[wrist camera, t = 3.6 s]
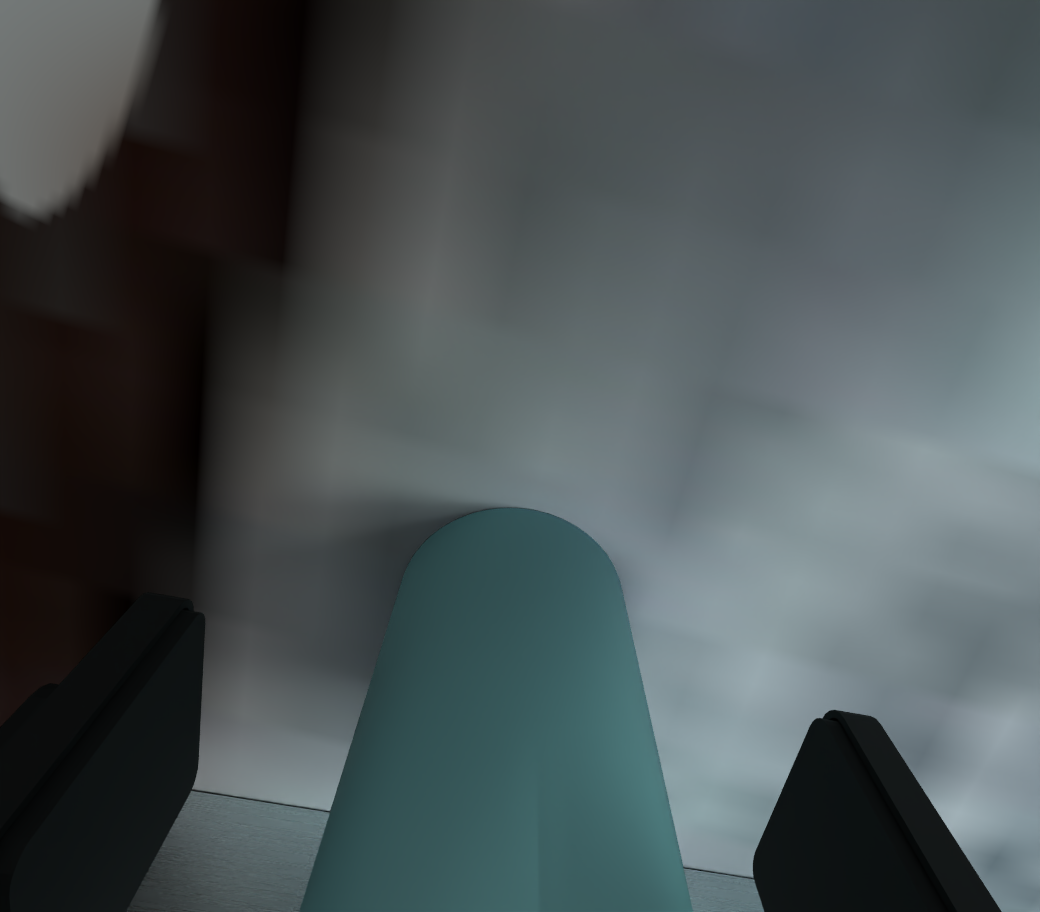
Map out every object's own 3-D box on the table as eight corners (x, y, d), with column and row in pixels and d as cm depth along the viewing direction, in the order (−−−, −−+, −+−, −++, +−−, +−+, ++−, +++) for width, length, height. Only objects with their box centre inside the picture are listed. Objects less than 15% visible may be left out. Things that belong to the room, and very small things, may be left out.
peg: (415, 488, 12) (36, 1562, 3) (648, 531, 12) (1020, 1654, 3) (385, 680, 14) (67, 1806, 4) (594, 715, 14) (729, 1854, 4)
